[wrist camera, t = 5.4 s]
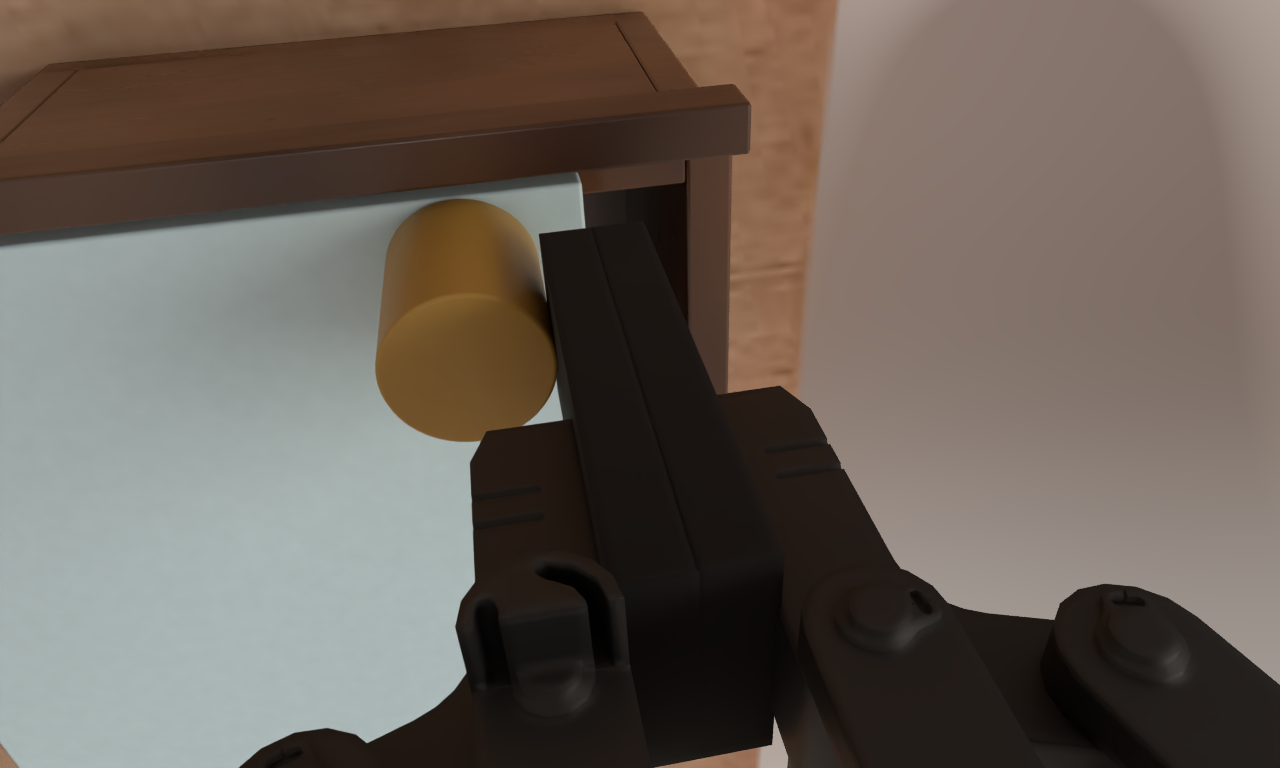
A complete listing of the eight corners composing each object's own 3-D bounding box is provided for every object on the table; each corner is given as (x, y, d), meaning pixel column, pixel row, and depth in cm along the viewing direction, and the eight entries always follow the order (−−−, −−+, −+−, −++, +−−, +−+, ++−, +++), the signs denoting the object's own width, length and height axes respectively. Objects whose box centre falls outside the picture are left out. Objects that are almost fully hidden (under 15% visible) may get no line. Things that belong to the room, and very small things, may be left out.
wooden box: (643, -27, 21) (752, 103, 14) (662, 509, 30) (731, 750, 23) (31, 24, 19) (-214, 202, 12) (258, 572, 29) (198, 852, 22)
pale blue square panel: (577, 168, 15) (611, 276, 12) (623, 710, 23) (650, 850, 20) (-329, 266, 13) (-546, 418, 10) (77, 810, 21) (20, 977, 19)
